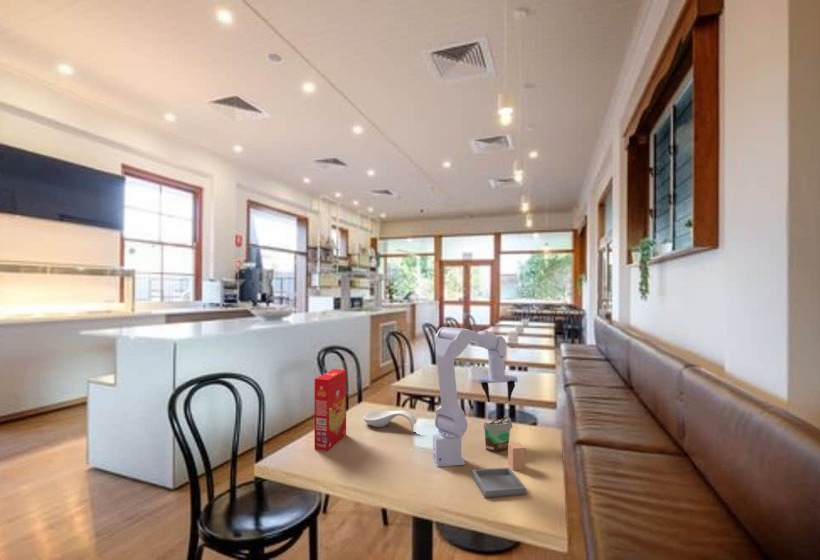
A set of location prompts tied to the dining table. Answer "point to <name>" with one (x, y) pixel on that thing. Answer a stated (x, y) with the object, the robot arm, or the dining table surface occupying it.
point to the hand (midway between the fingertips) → (498, 400)
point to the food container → (498, 434)
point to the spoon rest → (386, 417)
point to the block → (516, 456)
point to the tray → (498, 482)
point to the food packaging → (330, 409)
